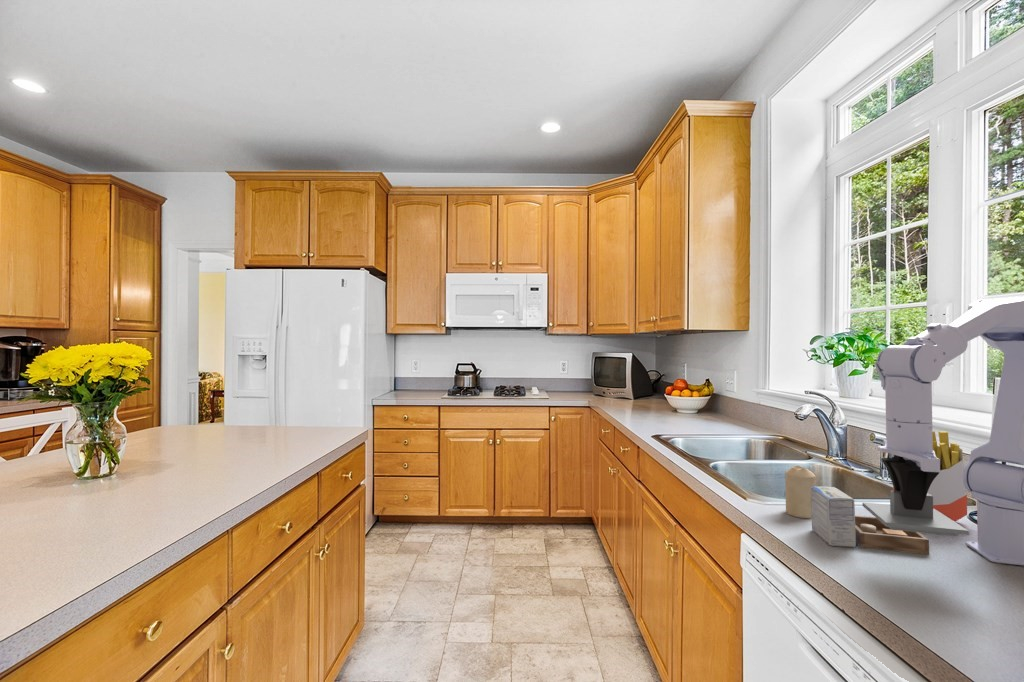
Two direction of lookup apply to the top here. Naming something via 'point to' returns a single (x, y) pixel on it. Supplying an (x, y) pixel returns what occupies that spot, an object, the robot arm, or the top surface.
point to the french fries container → (948, 479)
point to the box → (888, 537)
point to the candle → (799, 491)
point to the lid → (914, 517)
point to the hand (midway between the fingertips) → (909, 506)
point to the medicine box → (833, 516)
